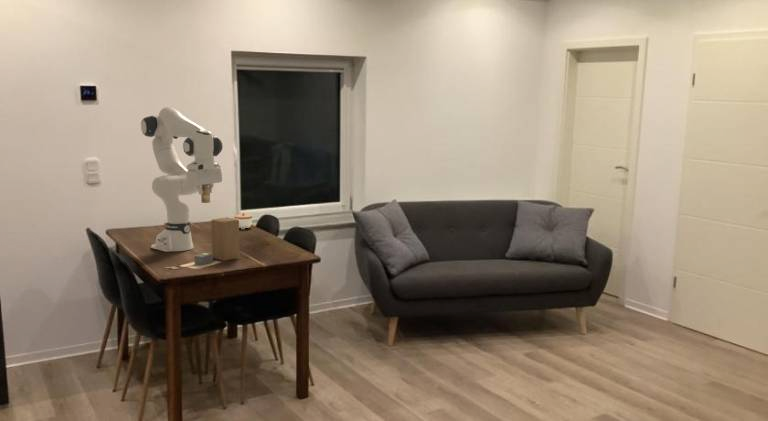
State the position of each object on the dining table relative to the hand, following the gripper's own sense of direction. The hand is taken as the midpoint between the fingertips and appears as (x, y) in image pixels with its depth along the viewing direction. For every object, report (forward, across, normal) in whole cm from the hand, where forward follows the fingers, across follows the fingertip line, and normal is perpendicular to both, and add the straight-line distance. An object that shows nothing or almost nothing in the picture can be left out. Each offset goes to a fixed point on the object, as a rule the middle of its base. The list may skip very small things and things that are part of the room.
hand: (205, 193), depth 319 cm
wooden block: (+34, -8, +4) cm, 35 cm away
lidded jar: (+33, -73, -41) cm, 90 cm away
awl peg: (+4, 0, 0) cm, 4 cm away
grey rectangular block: (+32, +6, +4) cm, 33 cm away
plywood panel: (+33, +8, +4) cm, 34 cm away
